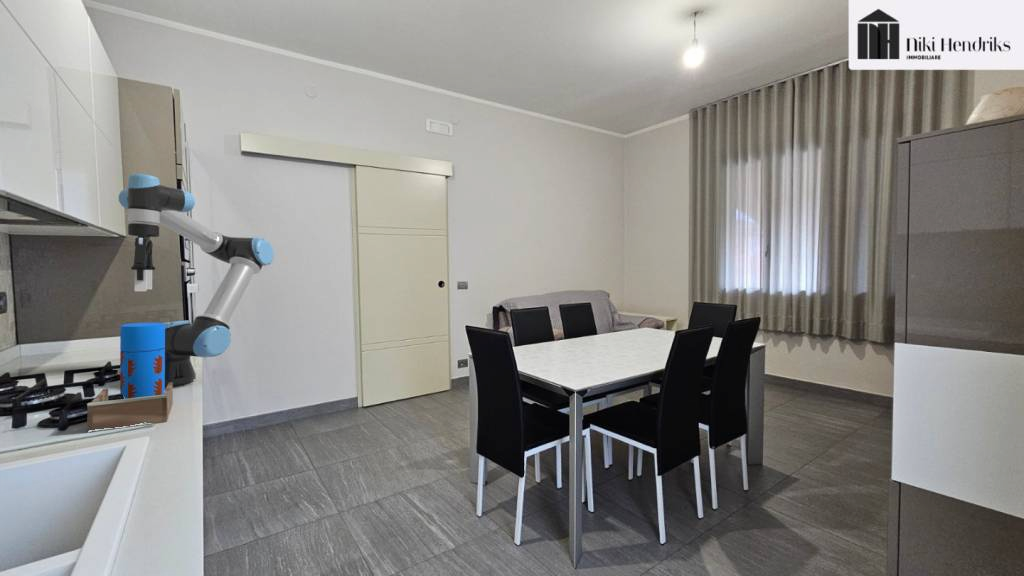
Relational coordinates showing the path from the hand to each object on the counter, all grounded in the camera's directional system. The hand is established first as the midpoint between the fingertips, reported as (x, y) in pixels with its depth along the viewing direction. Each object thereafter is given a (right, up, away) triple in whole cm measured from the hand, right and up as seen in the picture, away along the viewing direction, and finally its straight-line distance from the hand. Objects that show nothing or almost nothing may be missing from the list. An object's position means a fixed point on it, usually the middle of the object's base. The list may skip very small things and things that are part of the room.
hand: (143, 290), depth 135 cm
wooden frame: (+9, -37, -13) cm, 40 cm away
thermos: (-1, -36, +1) cm, 36 cm away
